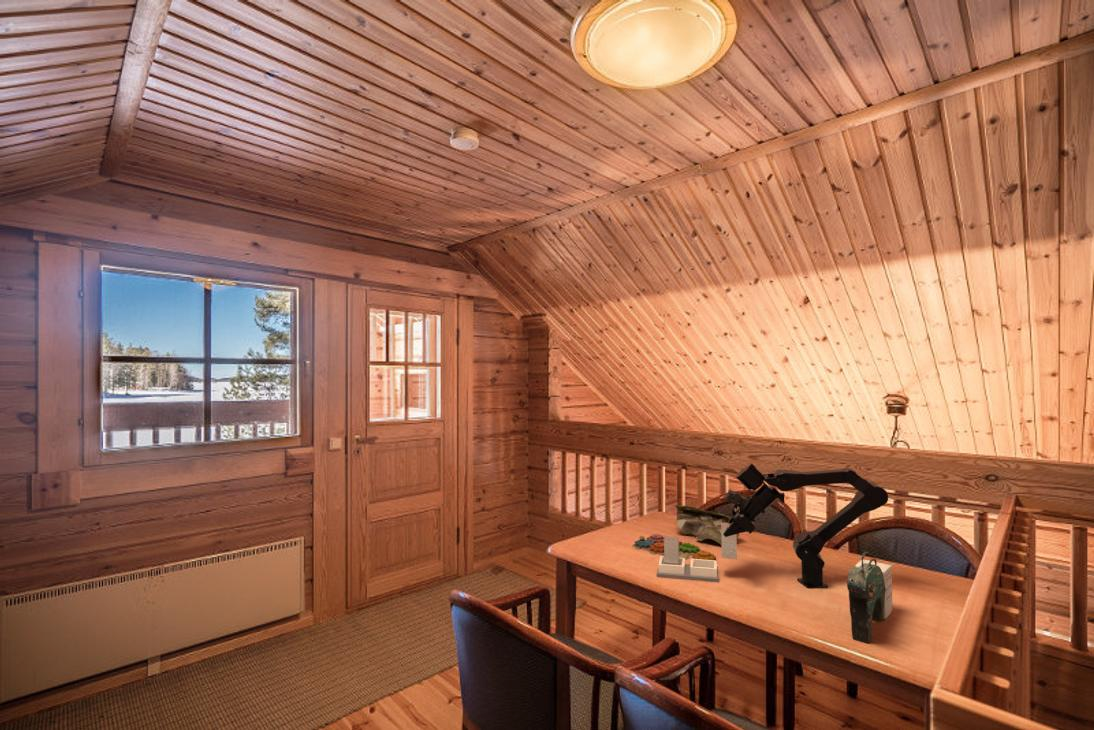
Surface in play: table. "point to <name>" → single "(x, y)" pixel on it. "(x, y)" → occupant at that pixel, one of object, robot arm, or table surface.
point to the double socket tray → (690, 570)
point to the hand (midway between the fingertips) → (724, 533)
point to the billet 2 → (728, 543)
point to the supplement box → (888, 584)
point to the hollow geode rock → (701, 523)
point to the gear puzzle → (685, 550)
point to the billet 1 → (671, 550)
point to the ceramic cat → (865, 598)
